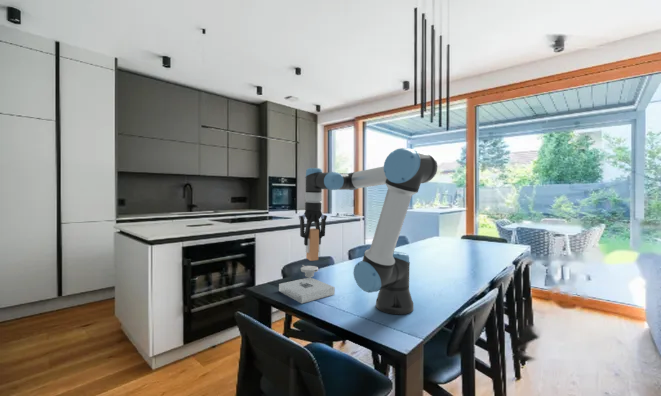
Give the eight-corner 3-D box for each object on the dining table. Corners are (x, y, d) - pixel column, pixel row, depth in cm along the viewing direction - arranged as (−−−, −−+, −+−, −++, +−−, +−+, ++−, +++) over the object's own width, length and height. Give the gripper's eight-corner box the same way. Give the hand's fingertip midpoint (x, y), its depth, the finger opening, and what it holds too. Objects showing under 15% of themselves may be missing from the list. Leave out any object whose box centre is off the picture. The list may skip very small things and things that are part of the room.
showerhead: (307, 263, 168) (321, 265, 162) (307, 275, 168) (321, 278, 162) (296, 266, 161) (310, 269, 155) (296, 279, 161) (310, 283, 155)
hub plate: (334, 294, 138) (334, 286, 138) (301, 303, 127) (301, 295, 127) (310, 283, 154) (310, 277, 154) (279, 291, 143) (279, 283, 142)
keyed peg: (306, 258, 140) (307, 228, 140) (314, 257, 142) (314, 228, 141) (310, 260, 136) (310, 230, 135) (318, 260, 137) (319, 229, 137)
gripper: (326, 201, 145) (325, 248, 146) (293, 201, 137) (292, 251, 138) (333, 202, 138) (332, 252, 139) (298, 202, 130) (297, 255, 132)
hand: (312, 251), depth 139 cm, fingers closed on keyed peg, 4 cm apart
